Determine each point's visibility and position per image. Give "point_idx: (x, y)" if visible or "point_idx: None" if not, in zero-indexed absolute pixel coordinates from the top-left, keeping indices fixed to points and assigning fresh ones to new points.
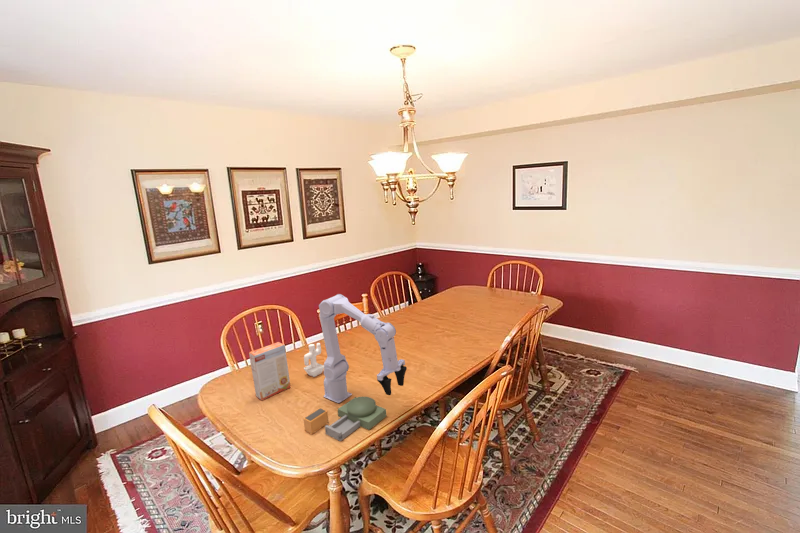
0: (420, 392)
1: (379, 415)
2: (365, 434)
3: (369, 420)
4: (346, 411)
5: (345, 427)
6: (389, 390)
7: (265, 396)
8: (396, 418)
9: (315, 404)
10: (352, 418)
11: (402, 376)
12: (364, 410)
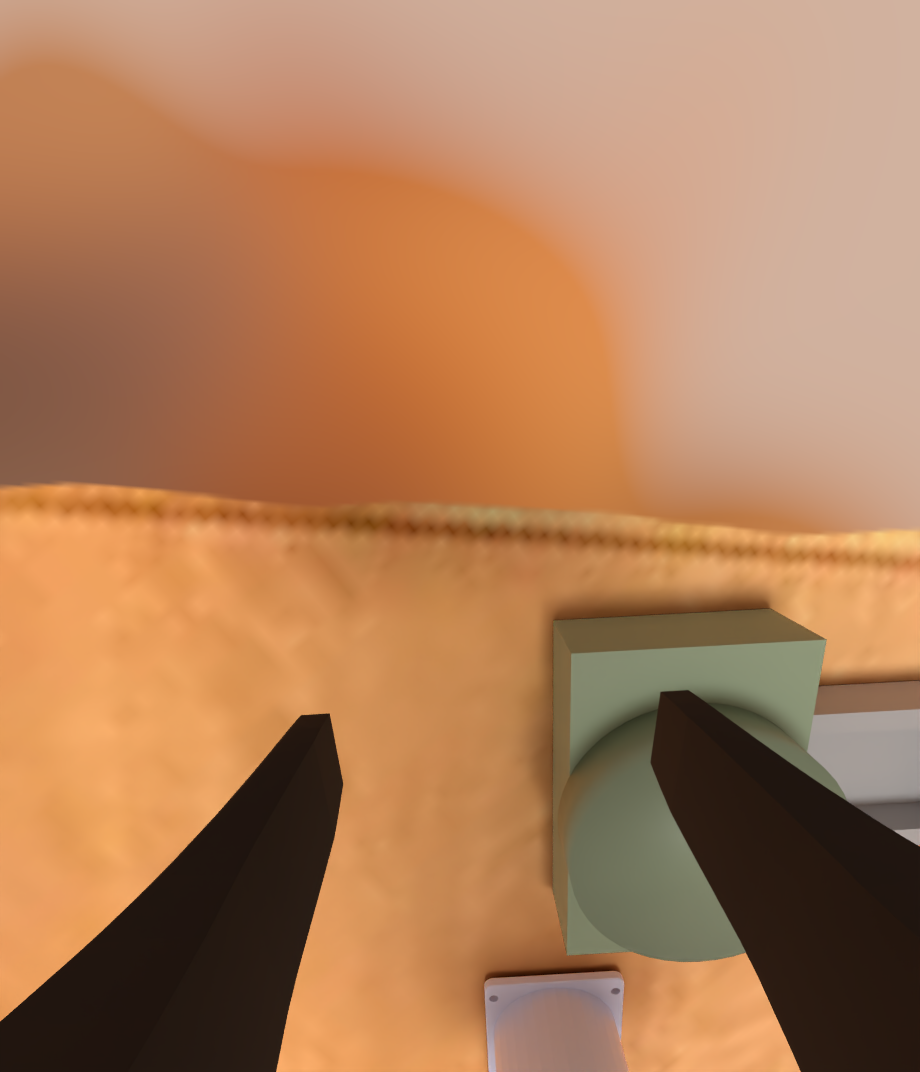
0: (86, 617)
1: (665, 641)
2: (826, 592)
3: (796, 653)
4: None
5: (846, 754)
6: (786, 761)
7: None
8: (531, 534)
9: (700, 1052)
10: None
11: (220, 923)
12: None
